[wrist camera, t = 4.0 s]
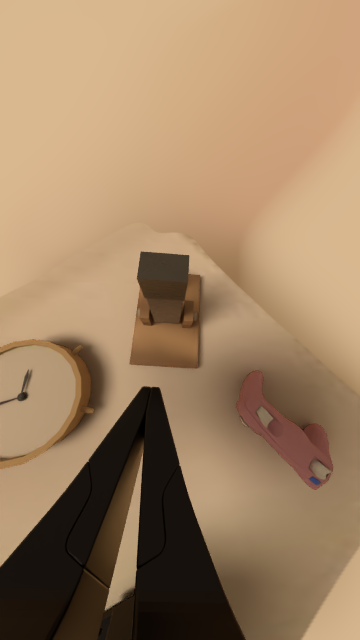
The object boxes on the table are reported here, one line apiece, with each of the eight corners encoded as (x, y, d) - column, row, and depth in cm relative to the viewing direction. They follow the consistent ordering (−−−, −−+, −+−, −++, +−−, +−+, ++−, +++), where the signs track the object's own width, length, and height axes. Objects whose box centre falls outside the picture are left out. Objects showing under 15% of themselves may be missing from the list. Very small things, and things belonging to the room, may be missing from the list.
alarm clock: (94, 435, 16) (-143, 533, 12) (104, 423, 21) (-63, 490, 16) (75, 326, 19) (-122, 370, 14) (87, 336, 23) (-60, 372, 19)
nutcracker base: (196, 368, 21) (202, 368, 17) (131, 364, 21) (121, 363, 17) (199, 278, 24) (204, 261, 21) (143, 273, 24) (137, 255, 20)
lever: (180, 324, 21) (188, 282, 11) (153, 322, 21) (136, 278, 11) (180, 309, 21) (189, 255, 11) (155, 307, 21) (140, 251, 11)
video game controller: (228, 388, 22) (228, 423, 15) (254, 364, 21) (267, 390, 14) (291, 449, 20) (323, 518, 14) (323, 426, 19) (374, 488, 13)
